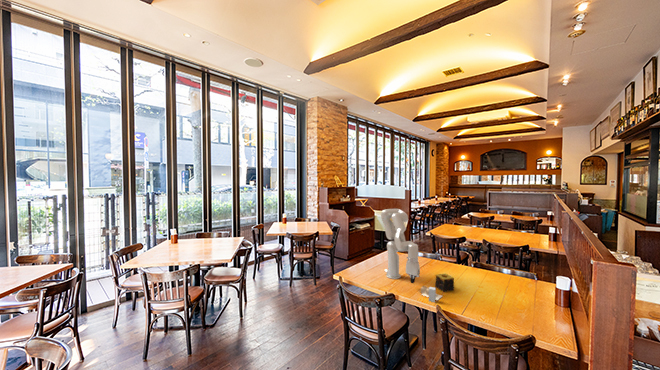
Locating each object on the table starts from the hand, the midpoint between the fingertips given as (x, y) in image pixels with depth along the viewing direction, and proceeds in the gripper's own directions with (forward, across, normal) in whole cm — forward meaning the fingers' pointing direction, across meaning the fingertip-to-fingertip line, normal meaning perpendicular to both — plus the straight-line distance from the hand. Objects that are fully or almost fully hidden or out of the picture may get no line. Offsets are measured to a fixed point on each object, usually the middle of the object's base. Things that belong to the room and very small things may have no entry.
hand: (412, 282), depth 203 cm
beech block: (+3, +8, 0) cm, 8 cm away
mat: (+5, +16, 0) cm, 16 cm away
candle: (+6, +17, +19) cm, 26 cm away
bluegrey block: (+5, +19, -7) cm, 21 cm away
